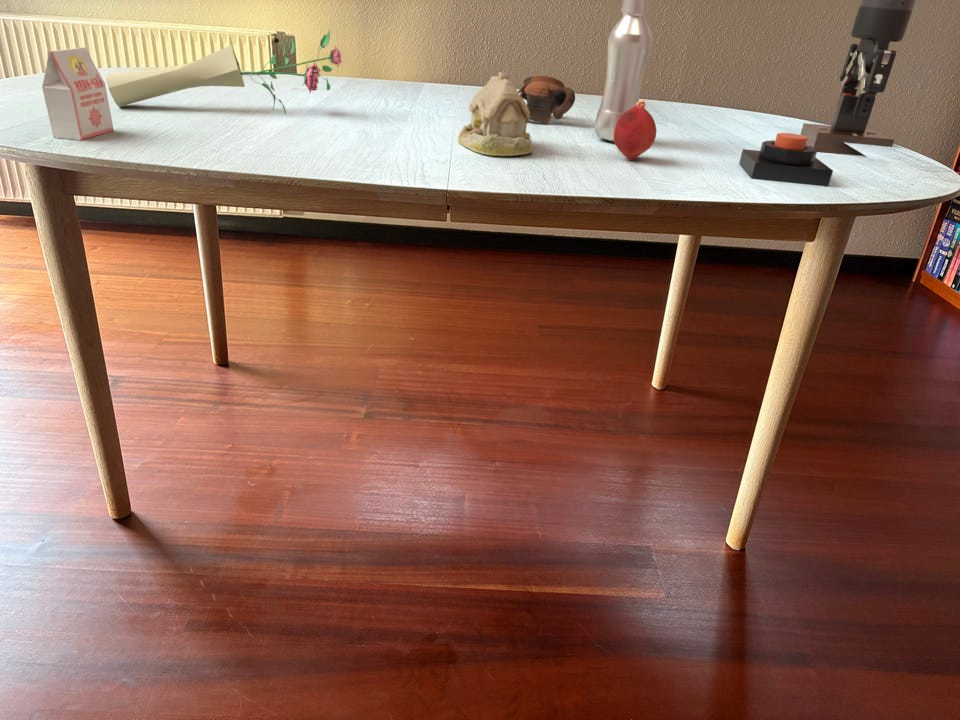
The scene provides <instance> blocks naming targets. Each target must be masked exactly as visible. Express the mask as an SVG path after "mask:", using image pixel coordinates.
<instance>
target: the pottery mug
mask: <svg viewBox="0 0 960 720" xmlns="http://www.w3.org/2000/svg"><path fill="white" fill-rule="evenodd" d="M523 83H524V85H522V86H521V87H520V88H519V89H518V90H517V92H518V93H519V95H520V96H521V97H522V98H523V100H524V101H526V105H527V107H528V110H529V112H530V118H529V121H533V122H537V123H542V124H545V125H549V124H550V120H551V117H552V116H553V118H554V119H555V120H561V119H562V118H563V116H564V115H565V114H566V113H568V112H569V111H570V110H571V109H572V107H573V106H574V104H575V101H576V93H575V91H574V90H573V89H572V88H571V87H568V86H565V84H564V82H562V81H561V80H559V79H557V78H555V77H553V76H547V75H533V76H528V77H526V78H525V79H524V80H523Z"/></svg>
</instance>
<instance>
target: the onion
mask: <svg viewBox="0 0 960 720" xmlns="http://www.w3.org/2000/svg"><path fill="white" fill-rule="evenodd" d="M646 104H647V103H646V102H645V101H644V100H639V102H638V103H637V104H636V105H635V106H634V107H633V108H631V109H629V110H628V111H626V112H625V113H624V114H623V115H622V116H621V117H620V118H619V120H618V121H617V123H616V125H615V128H614V135H613V139H614V142H613V143H614V145H615V147H616V148H617V150H618V151H619V152H620V153H621V154H622V155H623V156H624V157H625V158H626V159H627V160H628V161H634V160H636V159H638V157H639V156H641V155H642V154H644V153H646V152H647V151H648V150H649V149H651V147H652V146H653V145H654V144H655V140H656V137H657V124H656V122H655V120H654V118H653V116H652V115H651V113H650V112H649V111H648V110H647V109H646V107H645V106H646Z"/></svg>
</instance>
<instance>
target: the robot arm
mask: <svg viewBox="0 0 960 720" xmlns="http://www.w3.org/2000/svg"><path fill="white" fill-rule="evenodd" d="M916 2H917V0H860V3H859V6H858V9H857V12H856V16H855V19H854V22H853V26H852V29H851V32H850V35H851V37H852V38H854V39H855V38H856V39H860V41H859V43H851V44H850V46H849V50H848V52H847V56H846V57H845V58H846V59H845V61H844V65H843V67H842V71H841V74H840V76H839V81H840V82H841V87H842V89H841V92H840V95H839V99H838V101H837V105H836V107H837V106H838V103H839V100H840V97H841V94H843V93H849V94H852V95H855V96H857V93H858V88H859V86H860V89H859V90H860V91H859V94H858V96H859V97H858V100H857V103H856V106H855V109H854V112H853V118H855V119H860V120H866V119H867V118H868V116H869V113H870V110H871V107H872V104H873V102H874V99H875V98H876V96H878V95H879V94H880V93H884V92H885V90H886V86H887V84H888V80H889V78H890V74H891V71H892V68H893V66H894V62H895V59H896V56H897V50H894V49H893V50H892V49H889V46H890V43H892V42H895V43H900V42H901V41H903V39H904V37H905V34H906V31H907V28H908V26H909V23H910V20H911V16H912V13H913V11H914V7H915V5H916ZM875 100H876V99H875ZM874 103H875V102H874Z"/></svg>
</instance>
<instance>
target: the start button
mask: <svg viewBox="0 0 960 720" xmlns="http://www.w3.org/2000/svg"><path fill="white" fill-rule="evenodd" d="M807 140H808V137H806V136H803V135H800V134H798V133H793V132H777V133H776V135H775V140H774V141H775V143H774V146H778V147H782V148H787V149H796V150H805V147H806V144H807Z"/></svg>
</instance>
